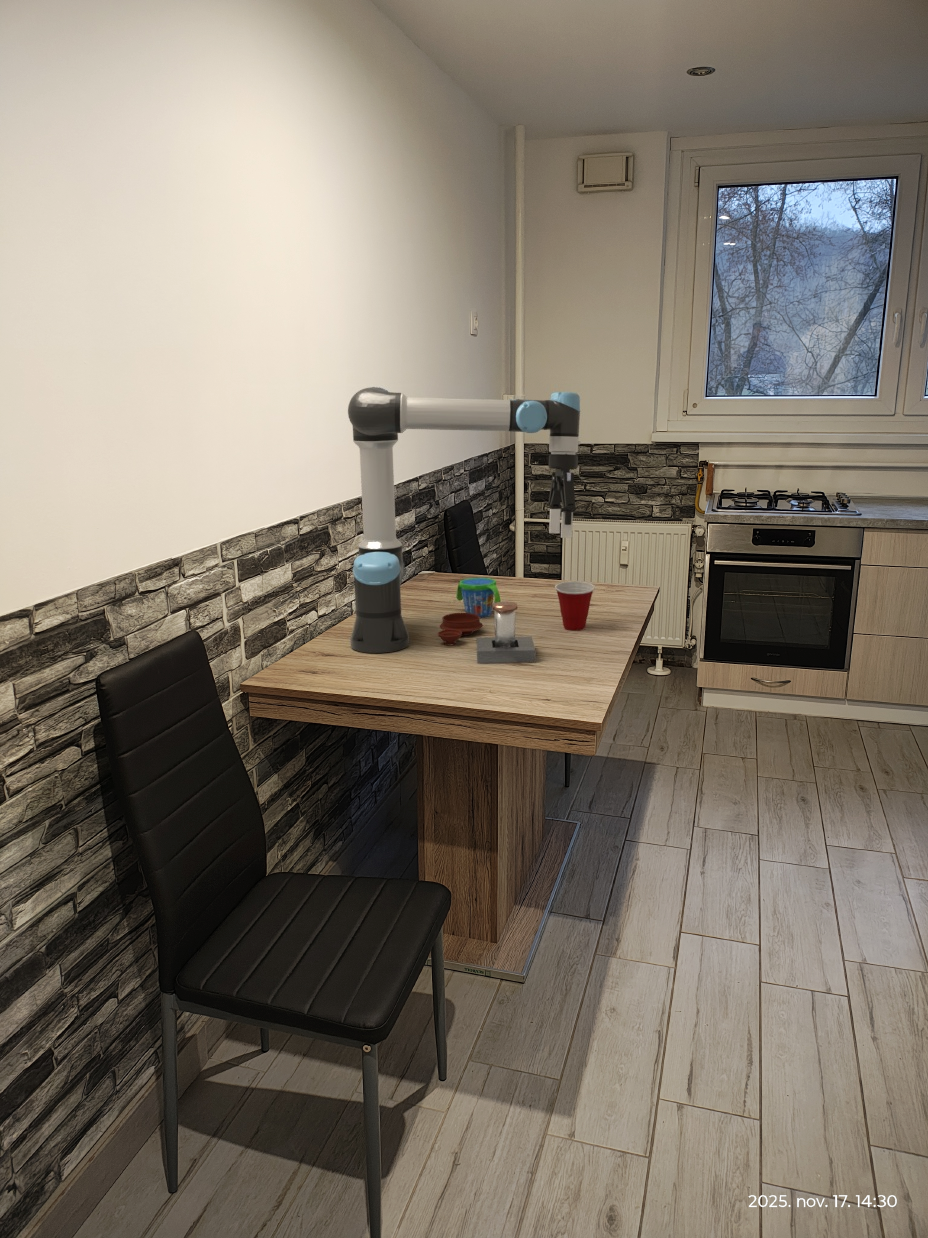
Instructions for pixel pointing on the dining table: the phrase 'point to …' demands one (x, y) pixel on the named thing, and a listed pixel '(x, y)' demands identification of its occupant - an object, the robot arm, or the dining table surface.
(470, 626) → the pottery
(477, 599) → the snack cup
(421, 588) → the dining table surface
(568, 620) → the plastic cup
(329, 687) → the dining table surface
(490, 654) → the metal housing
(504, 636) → the silver copper-capped cylinder
